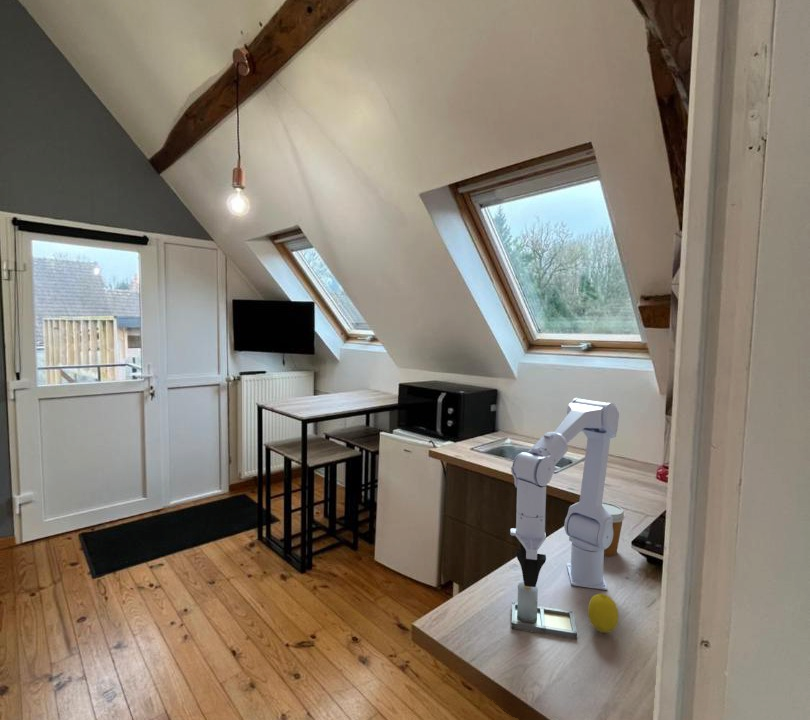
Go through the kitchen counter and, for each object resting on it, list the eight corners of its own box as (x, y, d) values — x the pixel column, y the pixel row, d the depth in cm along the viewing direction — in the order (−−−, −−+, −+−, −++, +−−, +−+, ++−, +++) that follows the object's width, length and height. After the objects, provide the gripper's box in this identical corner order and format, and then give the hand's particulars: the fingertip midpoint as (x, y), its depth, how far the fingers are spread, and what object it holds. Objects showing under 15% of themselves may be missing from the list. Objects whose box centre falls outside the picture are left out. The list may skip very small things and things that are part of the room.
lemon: (608, 622, 90) (610, 585, 90) (622, 641, 85) (624, 602, 84) (582, 623, 90) (583, 586, 90) (595, 642, 85) (596, 603, 84)
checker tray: (511, 607, 95) (511, 602, 95) (572, 616, 92) (572, 611, 92) (511, 628, 88) (511, 622, 88) (576, 639, 85) (577, 633, 85)
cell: (517, 609, 94) (518, 578, 93) (537, 613, 92) (537, 581, 92) (516, 622, 90) (517, 589, 89) (537, 625, 89) (538, 592, 88)
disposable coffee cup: (631, 555, 117) (633, 512, 116) (603, 562, 114) (605, 517, 113) (604, 539, 126) (605, 499, 125) (577, 544, 123) (579, 503, 122)
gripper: (510, 496, 97) (509, 554, 98) (510, 525, 83) (509, 592, 84) (543, 499, 96) (542, 558, 97) (549, 529, 81) (547, 598, 83)
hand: (529, 575), depth 90 cm, fingers open, 7 cm apart
